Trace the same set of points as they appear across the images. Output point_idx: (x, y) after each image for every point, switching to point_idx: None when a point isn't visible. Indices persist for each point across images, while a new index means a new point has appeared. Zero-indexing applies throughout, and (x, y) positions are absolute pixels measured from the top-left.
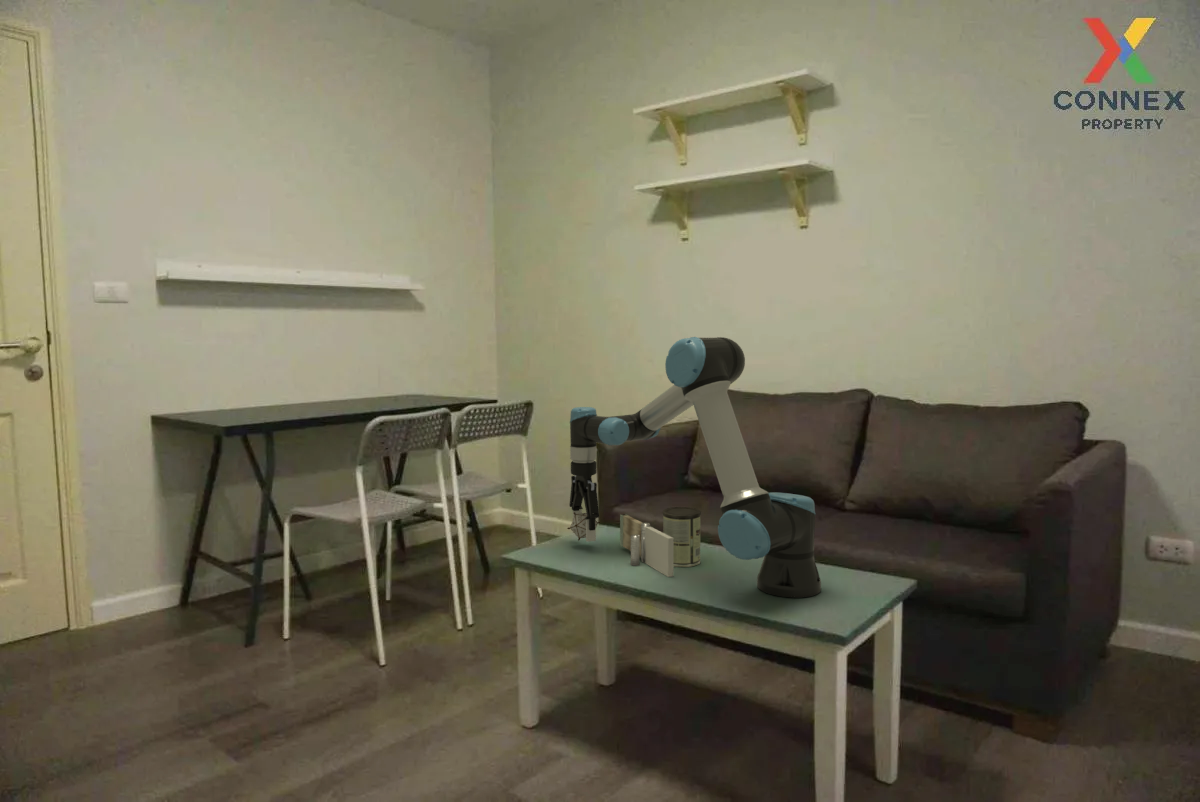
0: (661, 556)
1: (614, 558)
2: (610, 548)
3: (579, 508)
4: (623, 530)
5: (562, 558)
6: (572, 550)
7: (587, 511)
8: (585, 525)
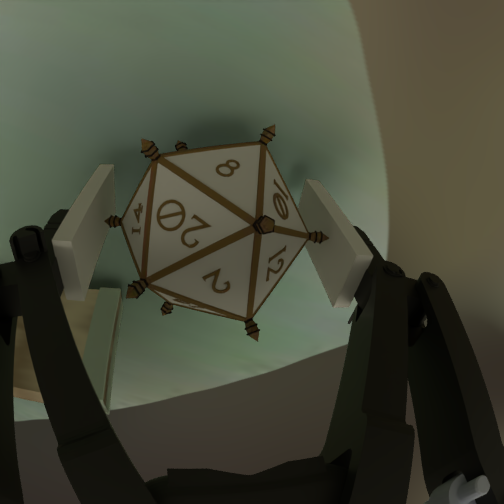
0: None
1: (14, 213)
2: None
3: (357, 307)
4: (85, 341)
5: (89, 7)
6: (190, 99)
7: (25, 290)
8: (135, 218)
